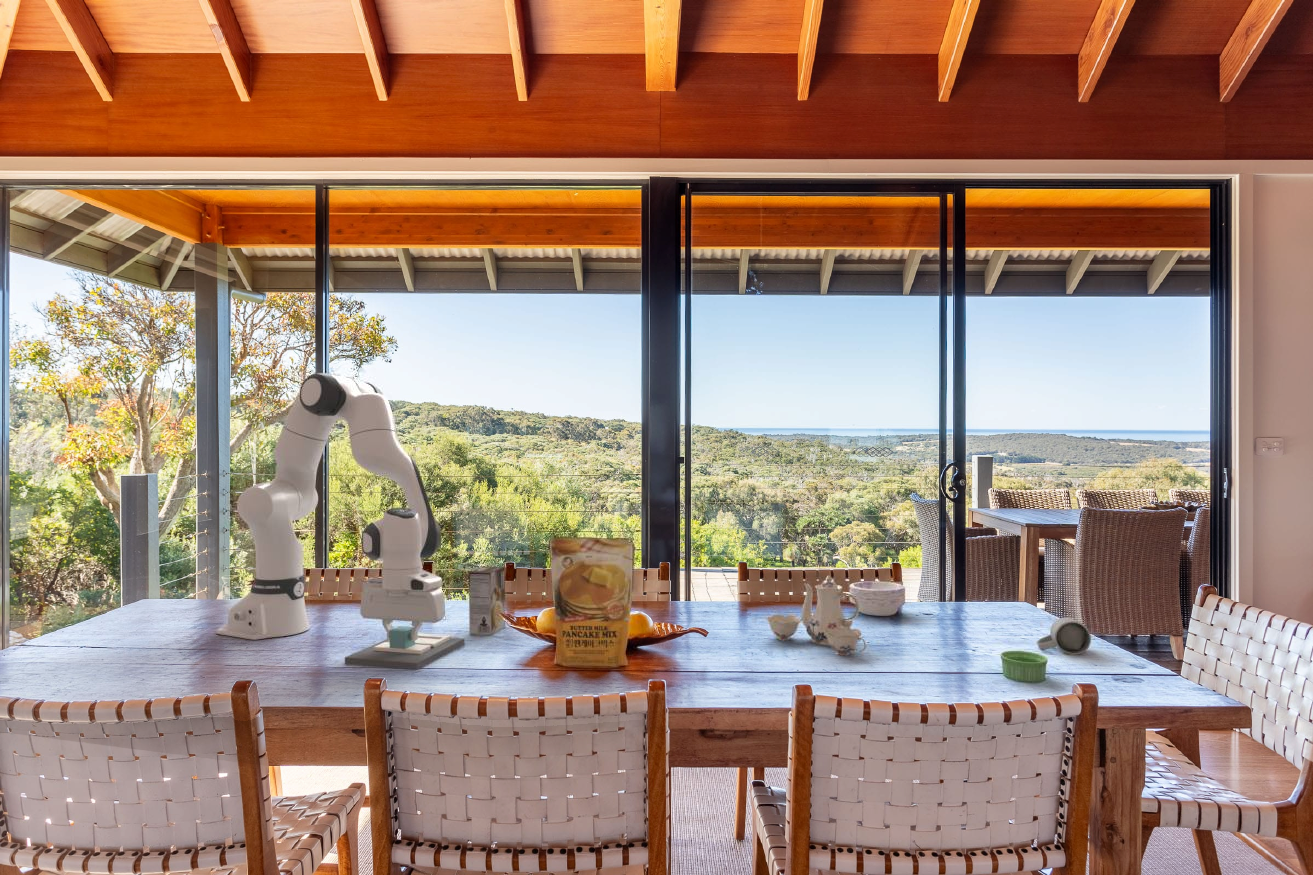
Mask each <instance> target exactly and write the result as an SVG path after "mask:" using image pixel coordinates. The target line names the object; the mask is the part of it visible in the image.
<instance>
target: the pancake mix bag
mask: <svg viewBox="0 0 1313 875" xmlns="http://www.w3.org/2000/svg"><path fill="white" fill-rule="evenodd" d="M548 549H549V564H550V575H551V576H550V577H551V578H550V580H551V593H552V601H553V608H554V628H555V637H556V645H555V646H556V648H555V654H554V660H553V661H554V662H553V665H560V666H562V667H567V668H586V669H587V668H588V669H589V668H591V669H592V668H597V669H599V668H600V669H615V668H616V669H617V668H619V667H622V666H623V667H624V666H628V665H629V664H628V658H627V655H626V651H627V647H628V646H627V645H628V638H629V630H630V629H629V628H630V617H631V610H632V609H631V608H632V602H633V591H634V578H635V577H634V574H635V573H634V571H635V568H634V566H635V556H636V552H635V543H634V542H629V538H625V537H623V538H622V537H617V538H616V537H615V538H613V537H605V538H604V537H589V536H588V537H584V536H583V537H581V536H578V537H577V536H575V537H573V536H570V537H569V536H567V537H554V538H552V539H550V540H548Z"/></svg>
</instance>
